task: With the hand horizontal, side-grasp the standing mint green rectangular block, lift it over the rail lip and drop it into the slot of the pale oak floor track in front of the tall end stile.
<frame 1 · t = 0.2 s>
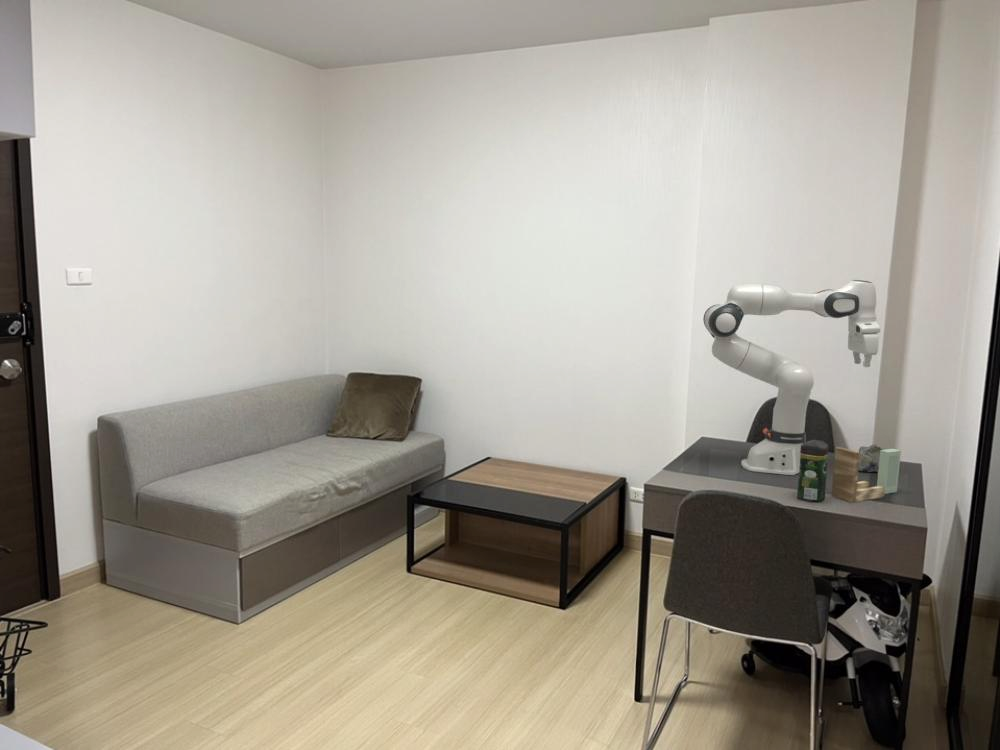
hand: (862, 365, 269), 39 cm above the table, tool pointing down, fingers open, 8 cm apart
coffee jar: (810, 498, 244), on the table
mint green rectangular block: (886, 491, 252), on the table
mineral rock: (875, 472, 276), on the table
track: (860, 495, 247), on the table
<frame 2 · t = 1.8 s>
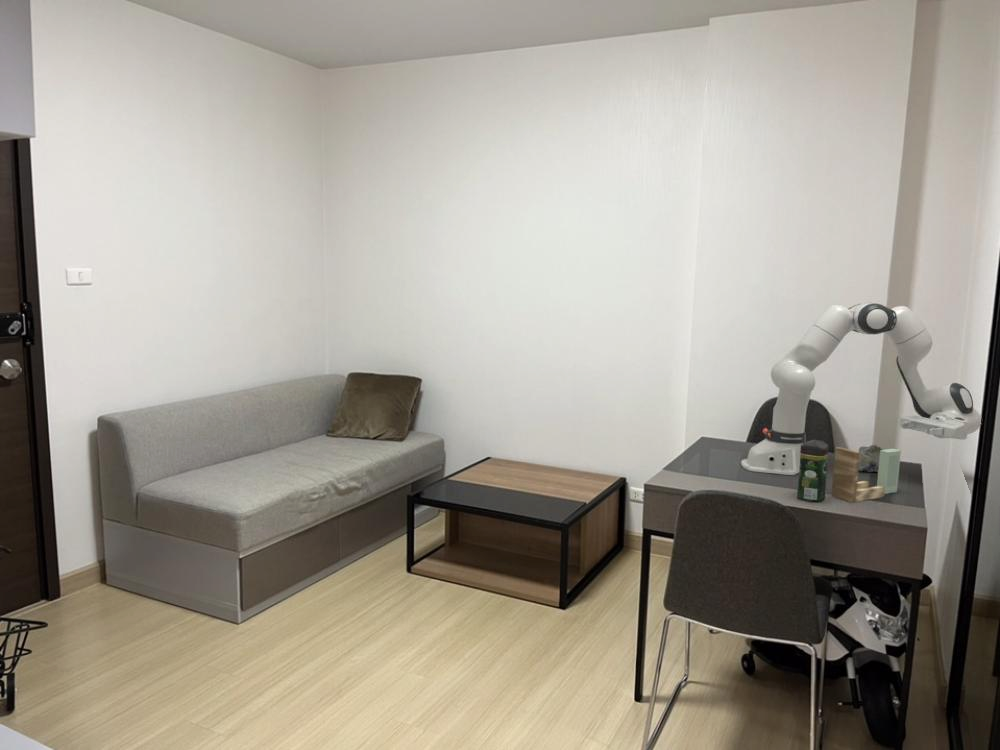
hand: (915, 428, 253), 20 cm above the table, tool horizontal, fingers open, 8 cm apart
nothing on the table moved.
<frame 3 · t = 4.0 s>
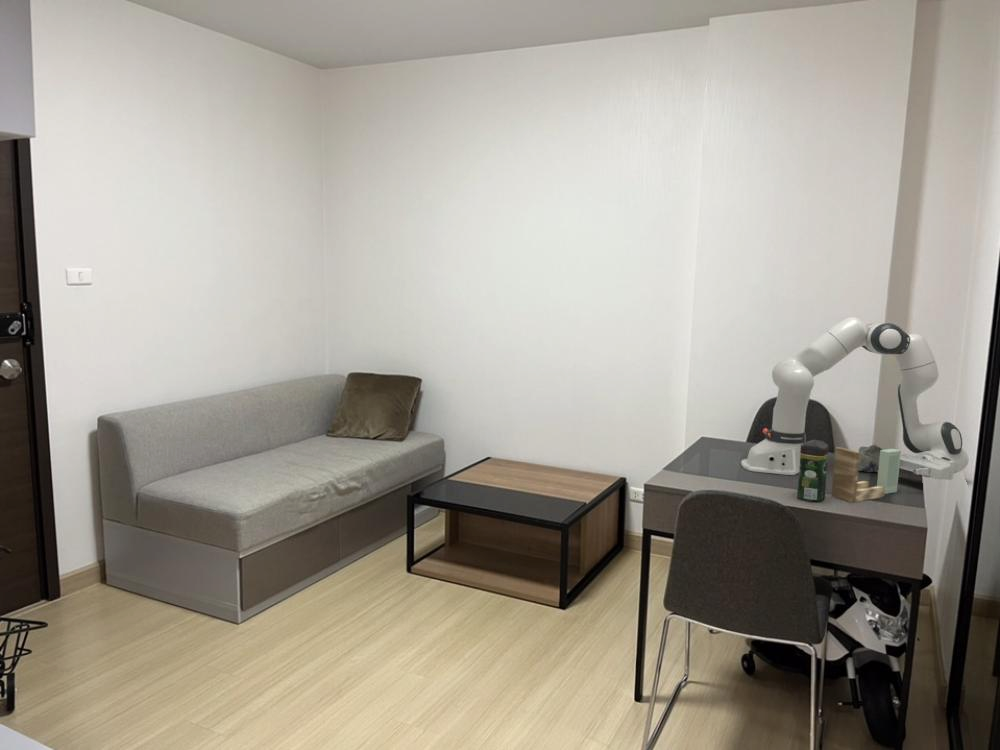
hand: (902, 467, 254), 7 cm above the table, tool horizontal, fingers open, 8 cm apart
nothing on the table moved.
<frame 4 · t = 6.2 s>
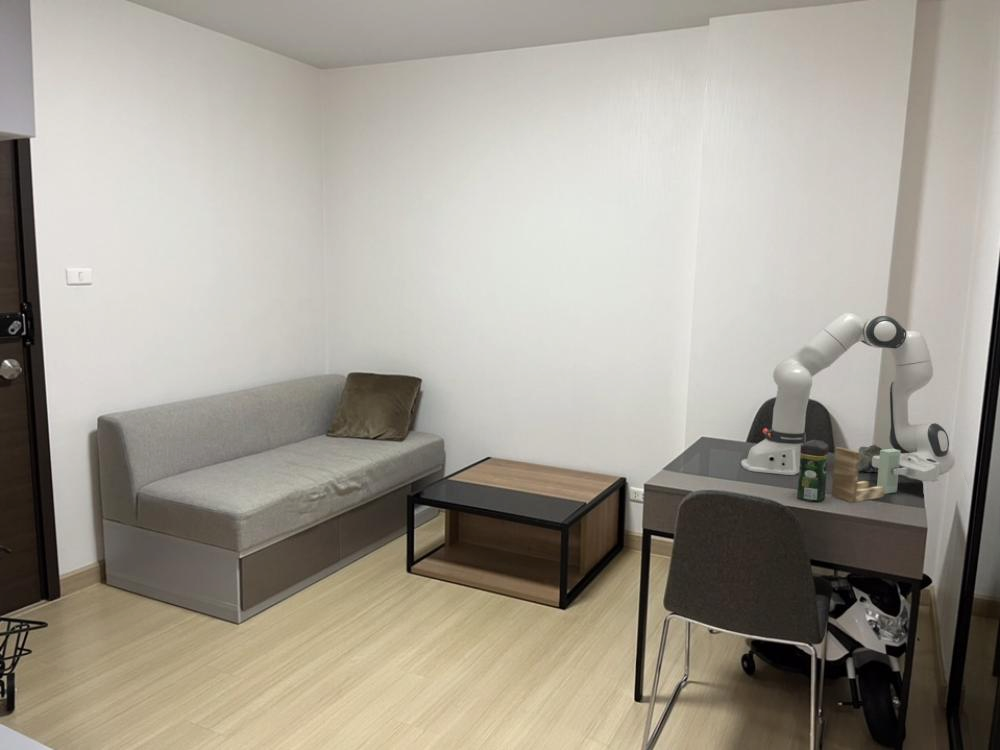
hand: (886, 469, 250), 8 cm above the table, tool horizontal, fingers closed on mint green rectangular block, 3 cm apart
mint green rectangular block: (886, 491, 252), on the table, touching gripper
everything else where it was.
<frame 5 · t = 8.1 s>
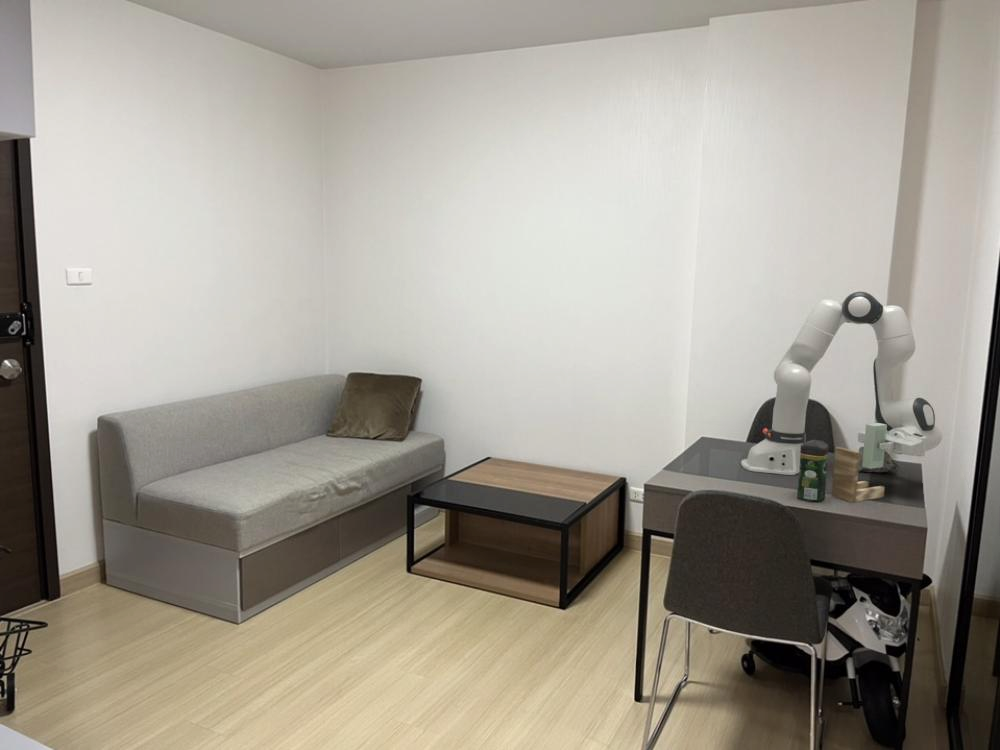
hand: (872, 444, 246), 17 cm above the table, tool horizontal, fingers closed on mint green rectangular block, 3 cm apart
mint green rectangular block: (872, 466, 247), point 9 cm above the table, touching gripper
everything else where it was.
when the fingers open (10 cm above the table, at t = 10.5 s): mint green rectangular block drops 1 cm, resting on track.
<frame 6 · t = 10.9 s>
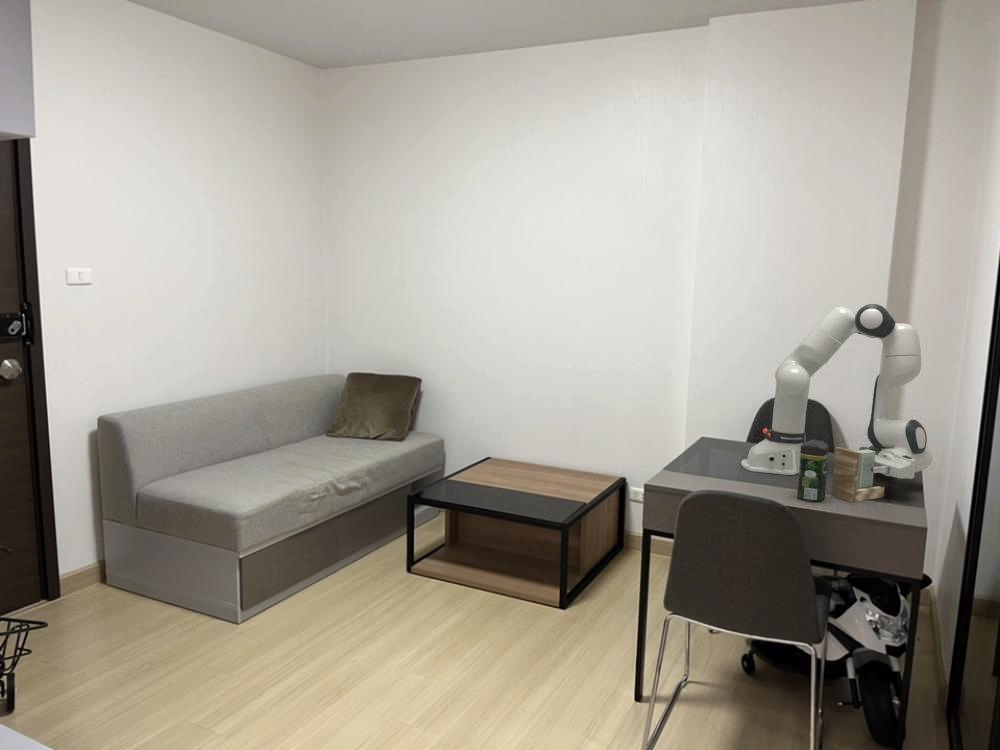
hand: (861, 466, 245), 10 cm above the table, tool horizontal, fingers open, 7 cm apart
mint green rectangular block: (861, 493, 247), point 1 cm above the table, touching track
everything else where it was.
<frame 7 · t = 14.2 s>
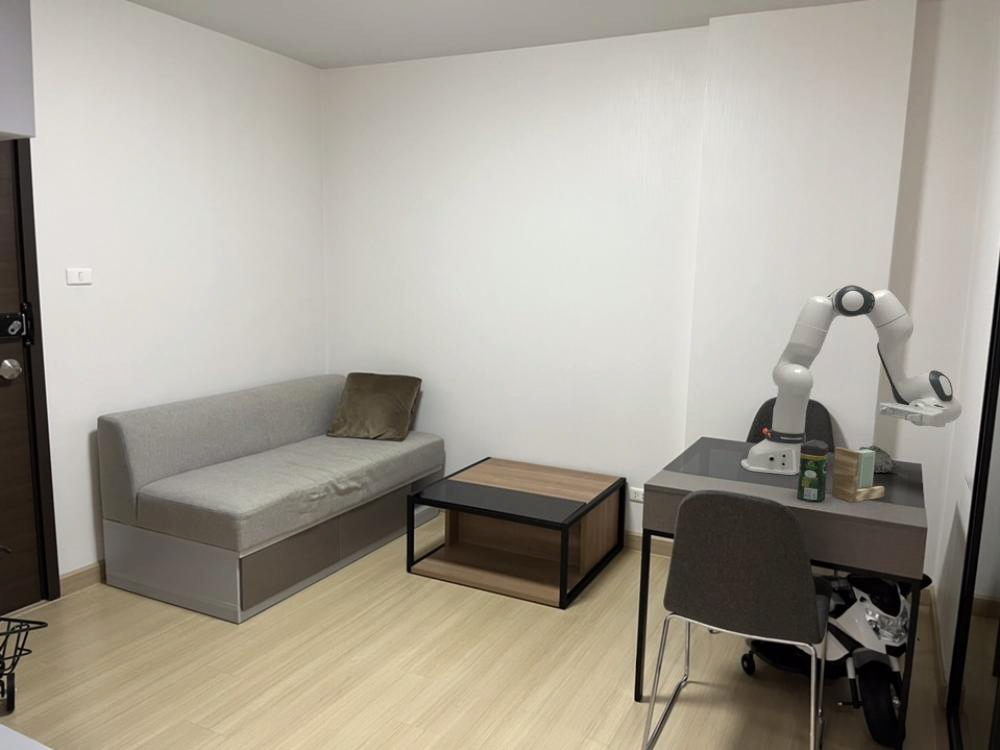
hand: (893, 414, 248), 26 cm above the table, tool horizontal, fingers open, 8 cm apart
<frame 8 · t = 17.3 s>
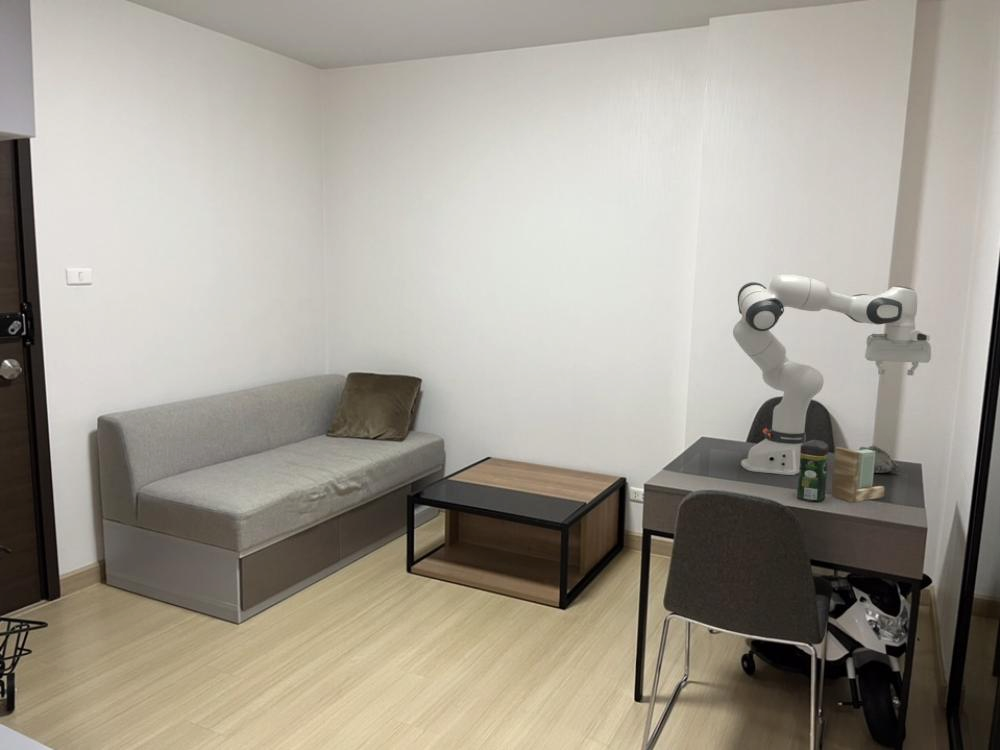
hand: (895, 374, 260), 37 cm above the table, tool pointing down, fingers open, 8 cm apart
at the end: mint green rectangular block inside the target area on the track (0.1 cm from its centre), point 0.8 cm above the track's base; mint green rectangular block tilted 0°; the gripper is holding nothing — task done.
